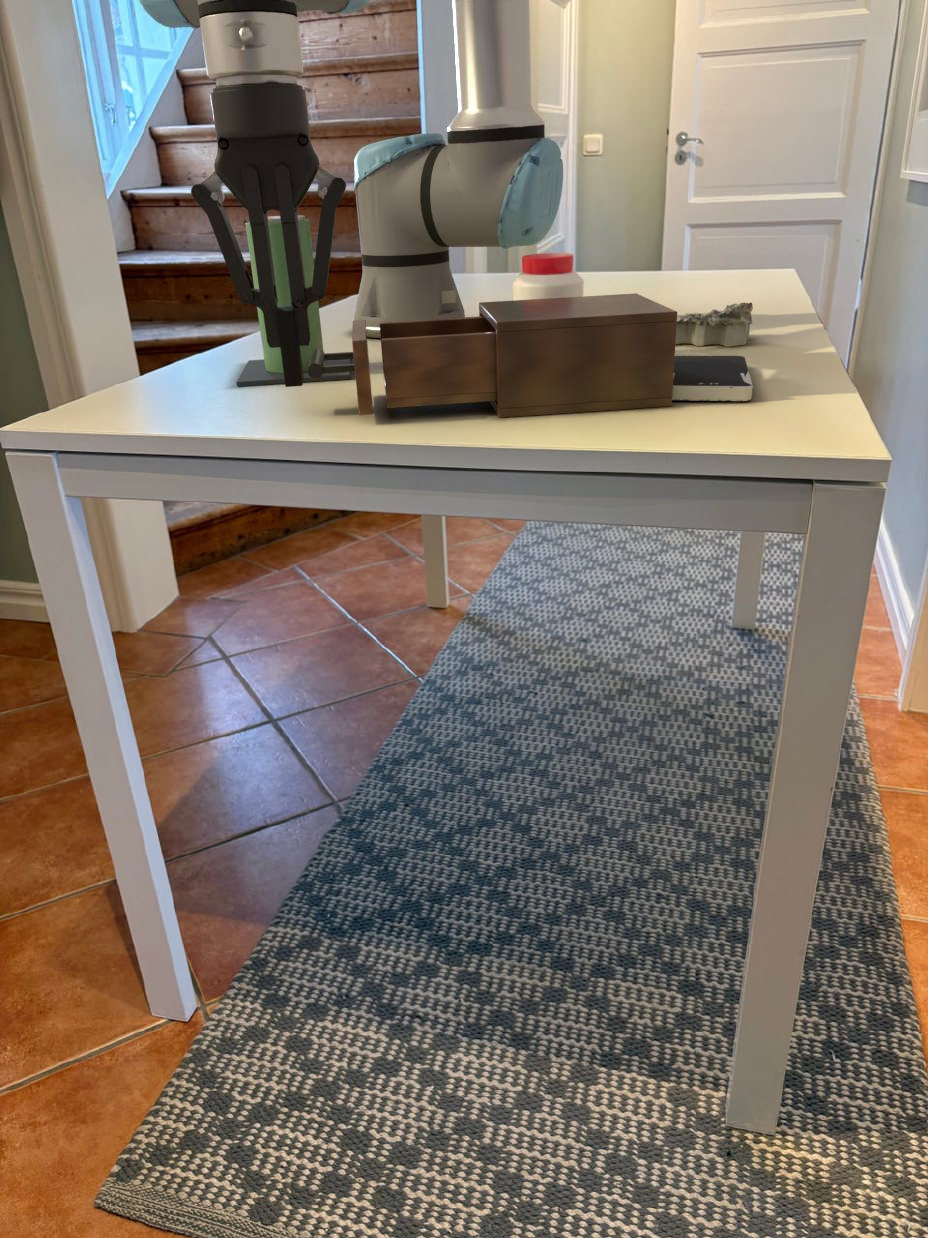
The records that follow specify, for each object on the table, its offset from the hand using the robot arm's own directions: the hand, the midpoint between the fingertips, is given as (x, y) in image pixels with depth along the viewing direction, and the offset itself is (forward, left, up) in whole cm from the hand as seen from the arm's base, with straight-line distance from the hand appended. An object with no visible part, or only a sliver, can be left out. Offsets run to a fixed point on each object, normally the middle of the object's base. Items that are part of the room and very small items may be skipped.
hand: (294, 382), depth 82 cm
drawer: (0, +11, -2) cm, 11 cm away
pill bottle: (-17, +27, -3) cm, 32 cm away
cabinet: (0, +26, -3) cm, 26 cm away
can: (-20, -1, -2) cm, 20 cm away
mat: (-20, -1, -3) cm, 20 cm away
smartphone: (-1, +39, -3) cm, 39 cm away
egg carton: (-23, +47, -3) cm, 52 cm away
